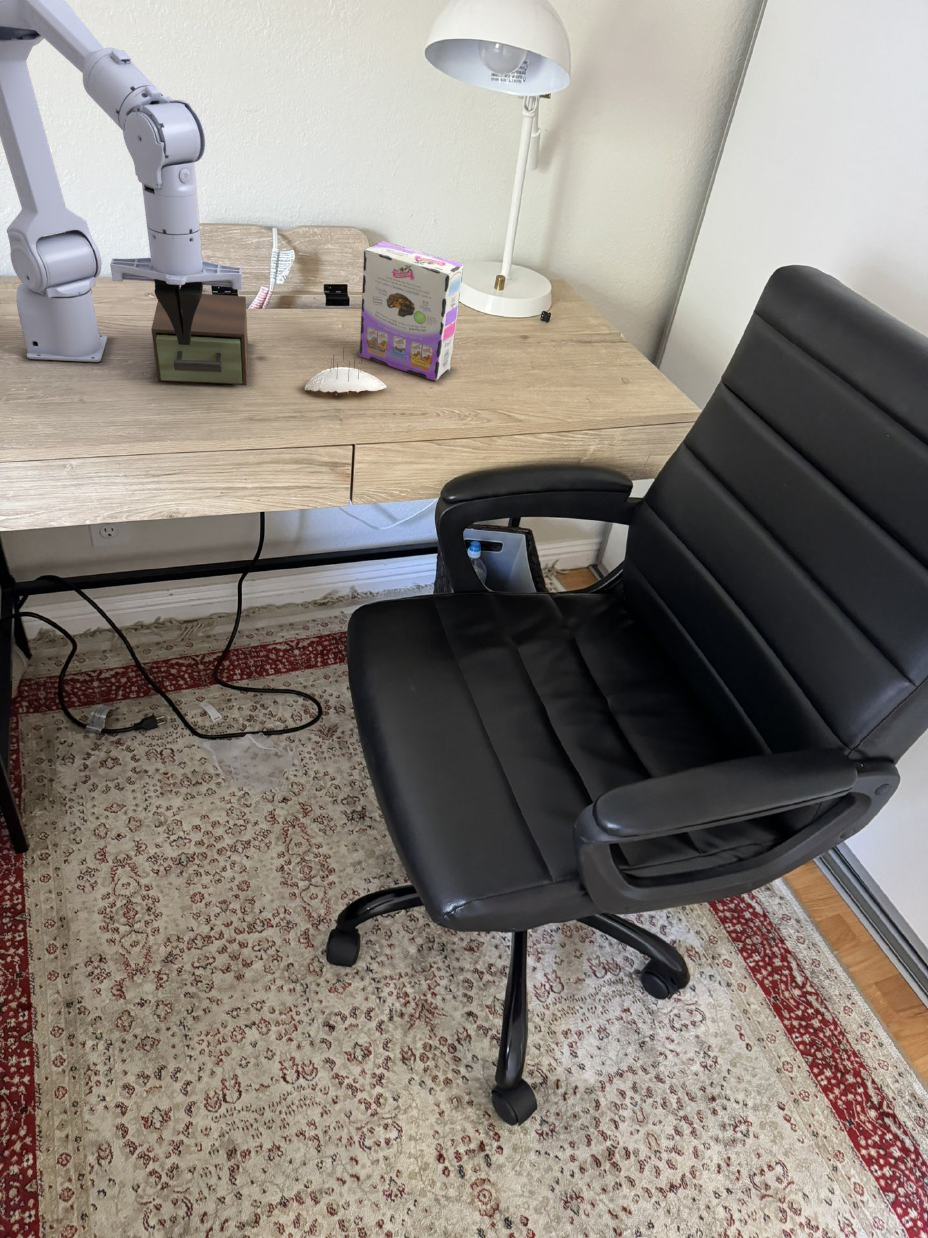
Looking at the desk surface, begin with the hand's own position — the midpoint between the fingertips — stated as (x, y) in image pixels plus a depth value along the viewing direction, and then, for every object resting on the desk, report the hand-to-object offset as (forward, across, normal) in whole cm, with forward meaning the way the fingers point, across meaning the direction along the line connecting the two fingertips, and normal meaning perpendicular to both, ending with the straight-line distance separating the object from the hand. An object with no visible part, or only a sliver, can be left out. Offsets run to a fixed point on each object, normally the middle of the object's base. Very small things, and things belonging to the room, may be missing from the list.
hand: (184, 341), depth 100 cm
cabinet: (+10, +1, +15) cm, 18 cm away
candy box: (+10, +31, +18) cm, 37 cm away
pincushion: (+10, +21, +8) cm, 25 cm away
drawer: (+9, +1, +11) cm, 15 cm away
